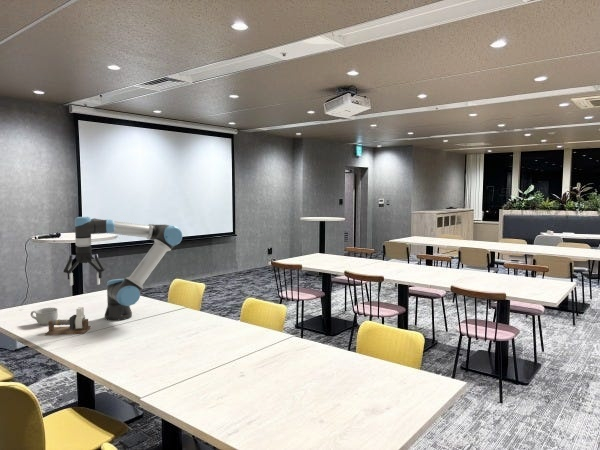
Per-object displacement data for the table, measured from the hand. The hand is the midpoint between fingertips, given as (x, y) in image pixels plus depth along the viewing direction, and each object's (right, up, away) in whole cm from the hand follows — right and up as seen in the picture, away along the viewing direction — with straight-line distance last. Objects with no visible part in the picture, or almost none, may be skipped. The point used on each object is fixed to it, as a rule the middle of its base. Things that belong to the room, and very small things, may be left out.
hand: (85, 284), depth 231 cm
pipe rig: (-9, -25, -1) cm, 26 cm away
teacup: (-30, -24, +13) cm, 40 cm away
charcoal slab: (-6, -23, 0) cm, 24 cm away
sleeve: (-2, -23, 0) cm, 23 cm away
